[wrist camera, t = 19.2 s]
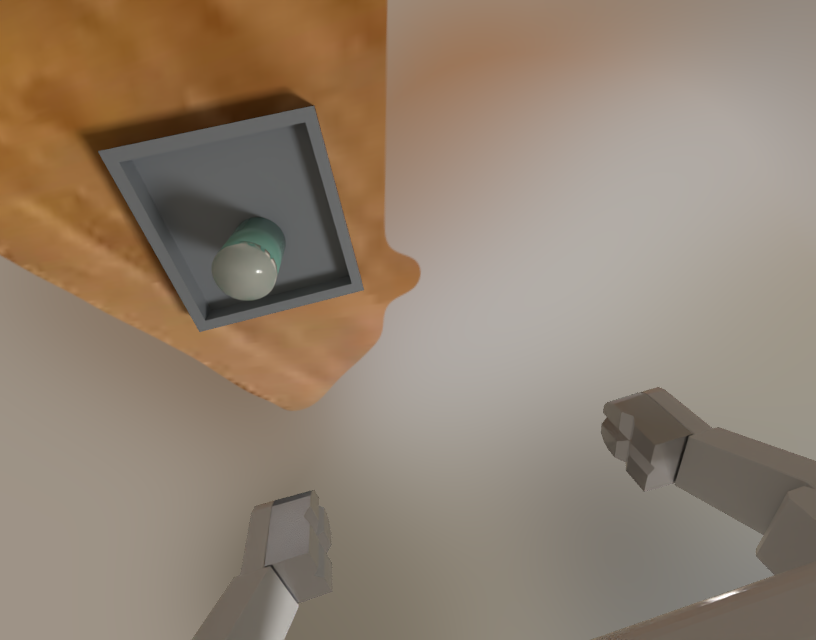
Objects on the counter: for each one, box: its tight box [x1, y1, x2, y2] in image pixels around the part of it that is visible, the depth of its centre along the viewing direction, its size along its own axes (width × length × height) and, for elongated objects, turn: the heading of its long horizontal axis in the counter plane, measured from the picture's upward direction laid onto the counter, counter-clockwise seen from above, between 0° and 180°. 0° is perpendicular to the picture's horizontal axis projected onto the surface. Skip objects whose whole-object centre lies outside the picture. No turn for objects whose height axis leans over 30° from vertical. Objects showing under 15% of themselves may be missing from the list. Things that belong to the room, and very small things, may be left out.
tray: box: [98, 106, 364, 332], centre depth 42 cm, size 20×20×4 cm
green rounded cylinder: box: [212, 217, 286, 301], centre depth 39 cm, size 6×6×10 cm
